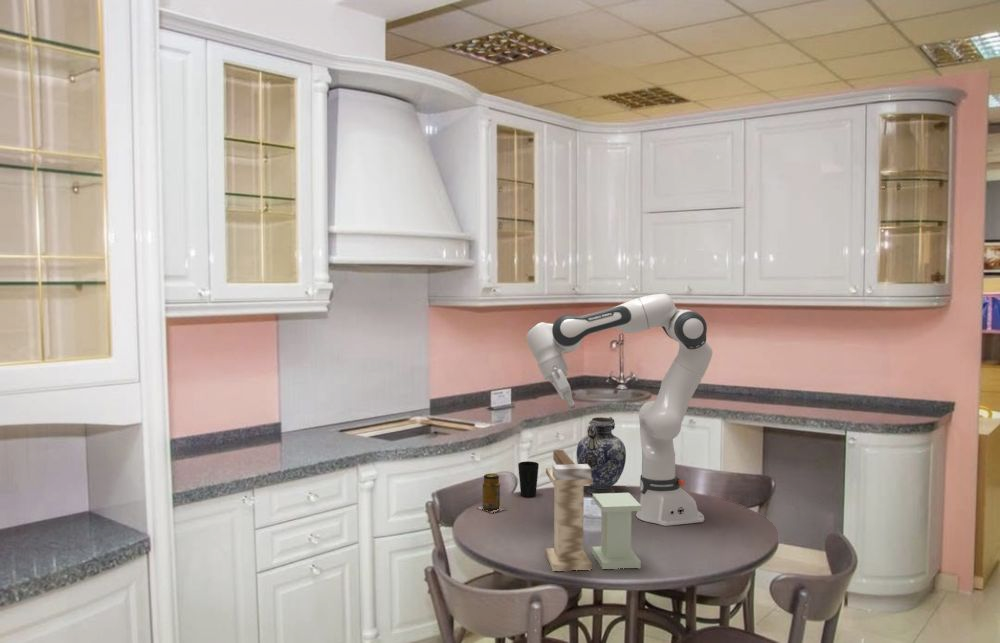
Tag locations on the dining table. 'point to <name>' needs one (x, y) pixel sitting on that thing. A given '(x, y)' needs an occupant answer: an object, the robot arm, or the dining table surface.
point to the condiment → (491, 492)
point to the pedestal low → (616, 531)
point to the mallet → (569, 468)
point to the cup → (528, 478)
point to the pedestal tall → (568, 525)
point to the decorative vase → (602, 455)
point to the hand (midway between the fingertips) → (573, 407)
